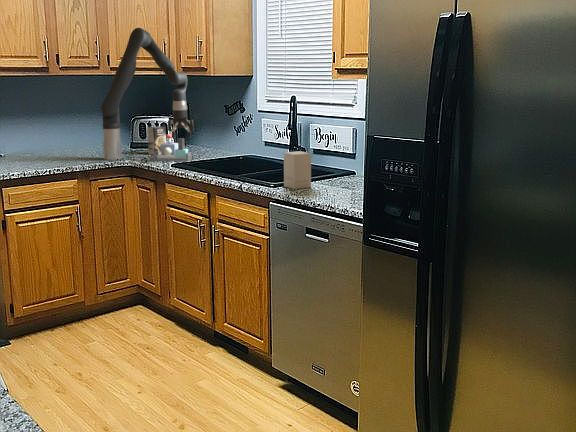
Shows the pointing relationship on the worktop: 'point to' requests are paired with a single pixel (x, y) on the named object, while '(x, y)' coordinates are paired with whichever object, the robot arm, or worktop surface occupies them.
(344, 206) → the worktop surface
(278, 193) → the worktop surface
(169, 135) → the plunger
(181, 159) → the rail
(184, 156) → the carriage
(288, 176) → the supplement box
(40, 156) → the worktop surface
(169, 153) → the gauge box
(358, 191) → the worktop surface
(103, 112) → the robot arm
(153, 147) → the coffee box
